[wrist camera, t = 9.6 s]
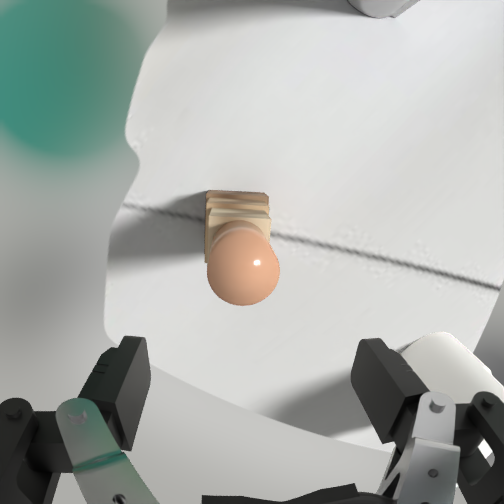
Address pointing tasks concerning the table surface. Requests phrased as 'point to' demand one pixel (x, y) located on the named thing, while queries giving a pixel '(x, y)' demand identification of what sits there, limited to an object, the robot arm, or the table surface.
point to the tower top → (230, 214)
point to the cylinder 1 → (242, 264)
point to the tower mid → (231, 204)
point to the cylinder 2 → (451, 371)
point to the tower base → (235, 197)
